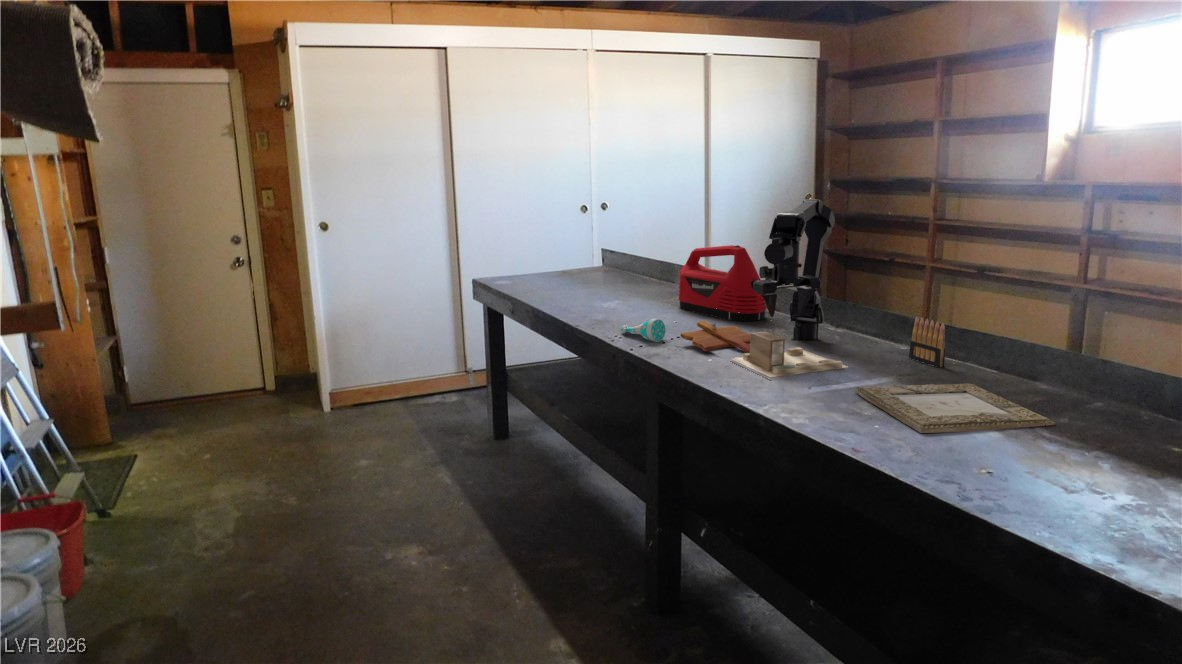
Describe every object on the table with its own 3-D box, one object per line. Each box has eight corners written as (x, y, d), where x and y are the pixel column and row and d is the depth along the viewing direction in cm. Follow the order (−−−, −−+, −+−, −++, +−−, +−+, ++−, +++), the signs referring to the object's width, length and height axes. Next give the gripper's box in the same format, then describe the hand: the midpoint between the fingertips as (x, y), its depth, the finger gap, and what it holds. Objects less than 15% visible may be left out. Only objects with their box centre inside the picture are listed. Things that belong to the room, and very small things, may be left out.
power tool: (698, 301, 287) (700, 237, 281) (775, 318, 255) (779, 246, 249) (667, 306, 279) (668, 240, 273) (743, 324, 246) (745, 250, 241)
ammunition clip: (908, 358, 201) (912, 315, 199) (913, 357, 202) (917, 315, 199) (938, 368, 192) (943, 323, 189) (944, 367, 192) (948, 322, 190)
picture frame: (1055, 428, 150) (1057, 416, 150) (920, 435, 146) (922, 423, 145) (970, 390, 176) (971, 379, 175) (853, 395, 171) (854, 384, 171)
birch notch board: (804, 353, 208) (804, 342, 207) (849, 370, 190) (849, 359, 189) (730, 362, 199) (730, 351, 199) (770, 381, 182) (770, 369, 181)
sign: (789, 363, 205) (725, 330, 230) (791, 342, 203) (727, 311, 228) (732, 373, 197) (673, 338, 222) (734, 351, 195) (674, 318, 220)
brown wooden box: (763, 360, 197) (765, 331, 195) (784, 369, 189) (785, 339, 187) (749, 362, 196) (750, 333, 194) (769, 371, 187) (770, 340, 185)
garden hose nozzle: (625, 315, 244) (605, 321, 226) (676, 313, 238) (659, 319, 219) (626, 337, 245) (606, 344, 226) (677, 335, 239) (661, 343, 220)
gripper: (798, 252, 210) (796, 306, 214) (742, 258, 204) (741, 312, 208) (823, 258, 200) (820, 313, 204) (765, 263, 194) (763, 320, 198)
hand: (785, 314), depth 204 cm, fingers open, 9 cm apart
